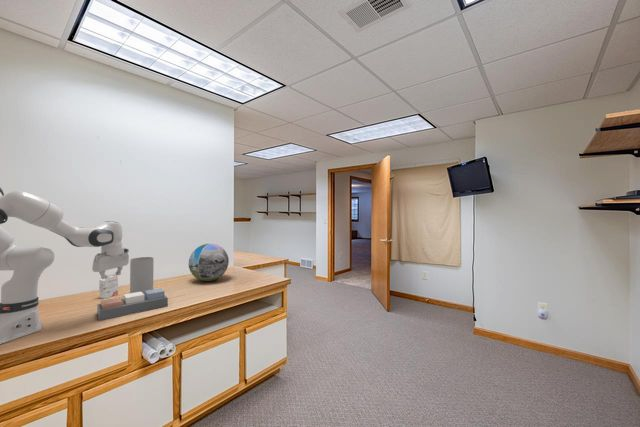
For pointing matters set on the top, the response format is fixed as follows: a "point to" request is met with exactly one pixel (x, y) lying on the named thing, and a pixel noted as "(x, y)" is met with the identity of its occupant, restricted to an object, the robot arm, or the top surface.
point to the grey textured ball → (208, 262)
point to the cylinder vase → (141, 274)
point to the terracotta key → (111, 303)
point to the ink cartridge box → (108, 286)
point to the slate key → (154, 294)
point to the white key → (133, 298)
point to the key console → (131, 308)
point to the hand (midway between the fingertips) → (111, 276)
